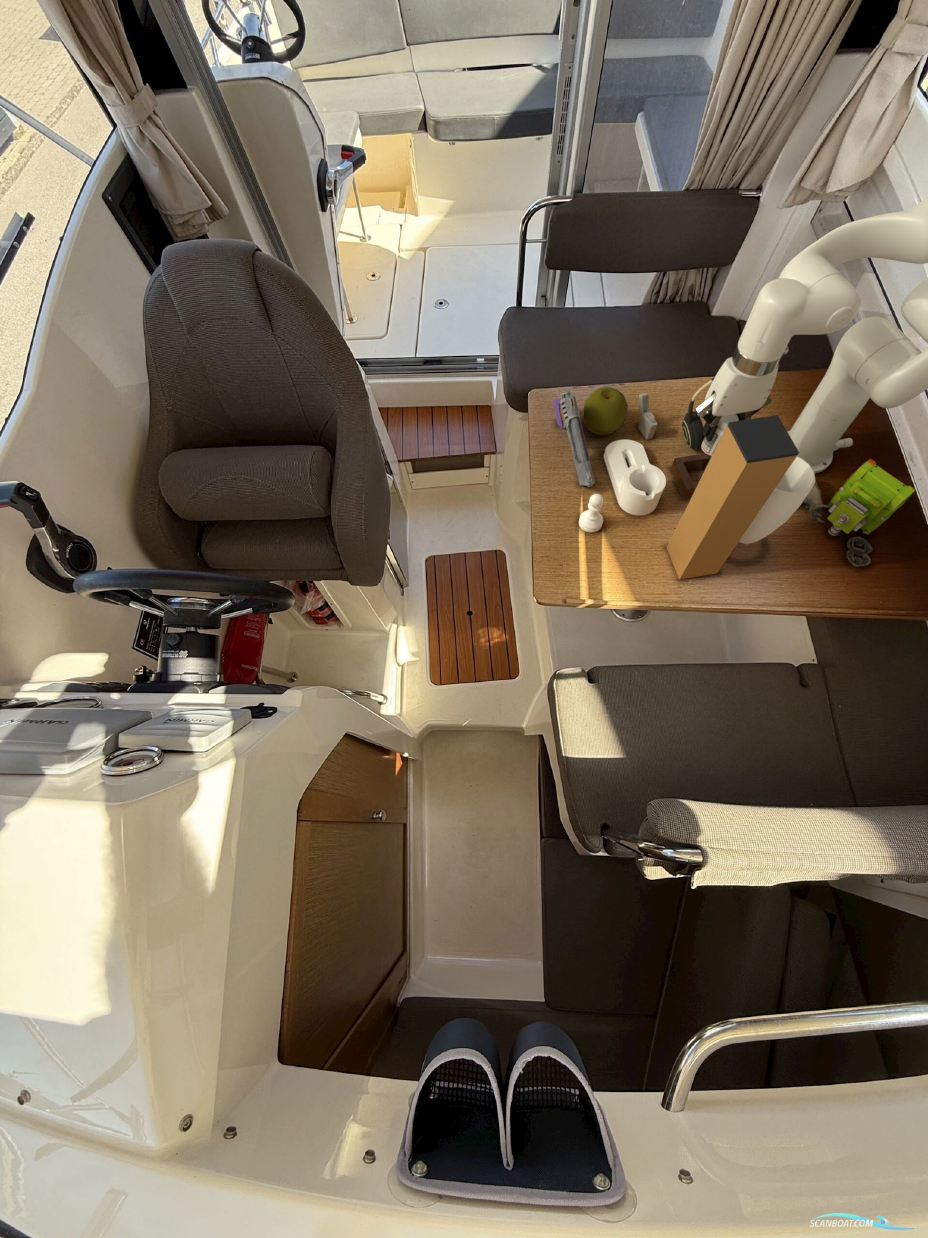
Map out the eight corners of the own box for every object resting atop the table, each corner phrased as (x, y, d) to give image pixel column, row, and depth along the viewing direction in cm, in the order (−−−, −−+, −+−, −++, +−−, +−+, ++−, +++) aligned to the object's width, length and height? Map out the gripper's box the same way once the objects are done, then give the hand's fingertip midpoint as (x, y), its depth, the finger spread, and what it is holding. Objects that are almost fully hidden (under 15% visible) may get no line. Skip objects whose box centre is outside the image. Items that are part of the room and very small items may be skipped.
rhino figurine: (805, 531, 120) (820, 514, 115) (780, 481, 126) (793, 462, 121) (824, 529, 120) (839, 511, 115) (798, 479, 126) (812, 460, 121)
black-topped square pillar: (703, 541, 120) (777, 414, 89) (717, 573, 117) (799, 452, 86) (666, 547, 120) (728, 422, 89) (679, 579, 116) (748, 460, 85)
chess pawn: (591, 510, 125) (599, 483, 117) (606, 525, 123) (615, 498, 115) (573, 521, 124) (579, 494, 116) (588, 536, 122) (595, 510, 114)
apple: (587, 446, 133) (595, 409, 124) (574, 417, 138) (580, 379, 128) (628, 437, 134) (639, 400, 124) (613, 409, 138) (623, 371, 129)
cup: (733, 570, 117) (781, 504, 97) (703, 533, 121) (744, 462, 102) (775, 552, 118) (831, 483, 99) (745, 516, 123) (792, 443, 104)
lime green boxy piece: (828, 484, 125) (785, 517, 121) (887, 446, 110) (840, 483, 106) (869, 530, 123) (827, 565, 120) (934, 498, 108) (888, 537, 105)
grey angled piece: (653, 437, 134) (662, 411, 127) (646, 439, 134) (655, 413, 126) (637, 417, 137) (646, 390, 130) (631, 419, 137) (639, 392, 130)
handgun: (572, 495, 139) (584, 487, 124) (550, 402, 137) (559, 383, 122) (586, 491, 139) (599, 483, 124) (564, 399, 136) (575, 379, 121)
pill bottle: (726, 444, 119) (743, 413, 112) (720, 459, 117) (738, 429, 110) (703, 437, 120) (719, 405, 113) (698, 452, 118) (713, 421, 111)
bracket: (662, 512, 124) (671, 492, 118) (623, 517, 124) (629, 498, 118) (637, 444, 133) (644, 422, 127) (601, 449, 133) (606, 427, 127)
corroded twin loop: (841, 564, 116) (844, 561, 115) (845, 535, 120) (848, 532, 119) (867, 572, 115) (871, 569, 114) (871, 543, 119) (874, 540, 118)
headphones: (741, 452, 131) (781, 380, 113) (678, 460, 130) (708, 389, 113) (728, 425, 135) (765, 351, 117) (667, 432, 134) (694, 360, 117)
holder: (707, 463, 130) (712, 452, 127) (721, 492, 126) (727, 482, 123) (669, 468, 129) (674, 457, 126) (682, 499, 125) (687, 488, 122)
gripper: (794, 335, 101) (753, 414, 117) (700, 350, 101) (672, 427, 117) (813, 363, 98) (768, 440, 114) (716, 379, 97) (685, 454, 113)
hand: (720, 433), depth 115 cm, fingers closed on pill bottle, 4 cm apart
